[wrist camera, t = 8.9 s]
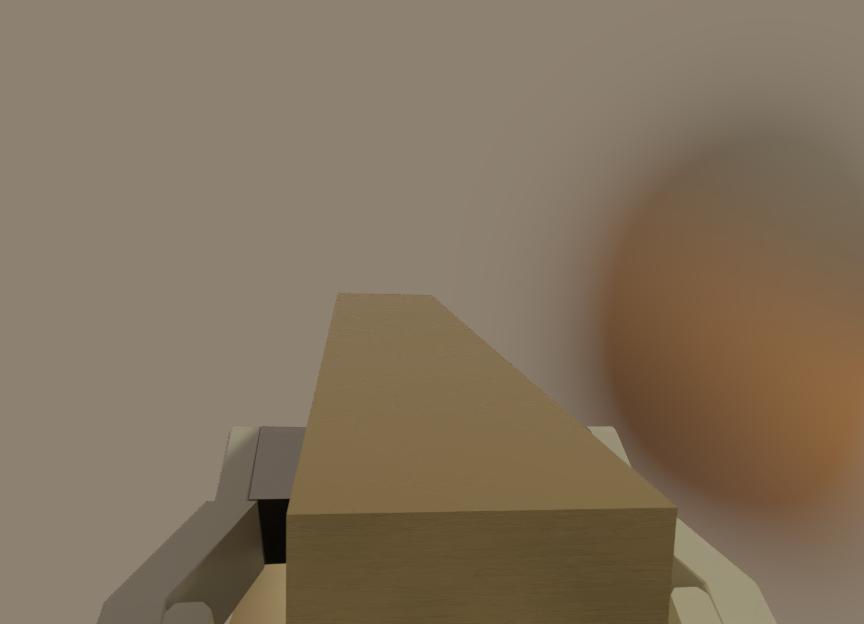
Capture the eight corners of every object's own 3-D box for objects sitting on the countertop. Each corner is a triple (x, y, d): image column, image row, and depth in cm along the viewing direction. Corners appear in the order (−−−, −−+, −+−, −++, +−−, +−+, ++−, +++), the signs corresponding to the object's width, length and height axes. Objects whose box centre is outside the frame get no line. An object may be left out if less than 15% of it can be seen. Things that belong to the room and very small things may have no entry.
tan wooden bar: (428, 374, 29) (431, 295, 29) (652, 809, 7) (677, 507, 7) (336, 373, 28) (337, 293, 28) (284, 836, 7) (286, 514, 6)
